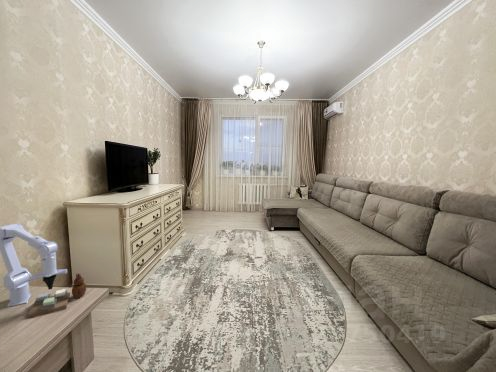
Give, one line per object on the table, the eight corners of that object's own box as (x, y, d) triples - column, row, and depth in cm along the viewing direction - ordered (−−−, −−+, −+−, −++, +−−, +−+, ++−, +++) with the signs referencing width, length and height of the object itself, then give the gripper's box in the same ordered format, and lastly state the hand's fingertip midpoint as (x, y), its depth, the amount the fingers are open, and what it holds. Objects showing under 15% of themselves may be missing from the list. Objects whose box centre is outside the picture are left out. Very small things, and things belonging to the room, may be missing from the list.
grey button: (39, 298, 123) (38, 294, 122) (48, 296, 125) (48, 292, 124) (37, 301, 119) (36, 298, 119) (47, 299, 121) (46, 295, 121)
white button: (56, 294, 127) (56, 290, 126) (65, 292, 129) (65, 288, 128) (55, 297, 123) (55, 294, 123) (64, 295, 125) (64, 292, 125)
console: (36, 303, 123) (35, 296, 123) (70, 295, 131) (69, 289, 131) (28, 318, 111) (27, 310, 111) (66, 308, 119) (65, 301, 119)
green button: (45, 302, 119) (44, 299, 118) (54, 300, 121) (54, 296, 121) (43, 307, 115) (42, 303, 115) (53, 304, 117) (53, 300, 117)
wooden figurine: (78, 300, 127) (77, 275, 125) (69, 298, 128) (68, 274, 127) (88, 293, 133) (87, 270, 132) (80, 292, 135) (79, 268, 133)
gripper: (28, 270, 113) (30, 295, 114) (65, 264, 121) (66, 288, 122) (32, 265, 119) (34, 289, 120) (67, 260, 127) (68, 282, 128)
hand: (50, 288), depth 122 cm, fingers closed
